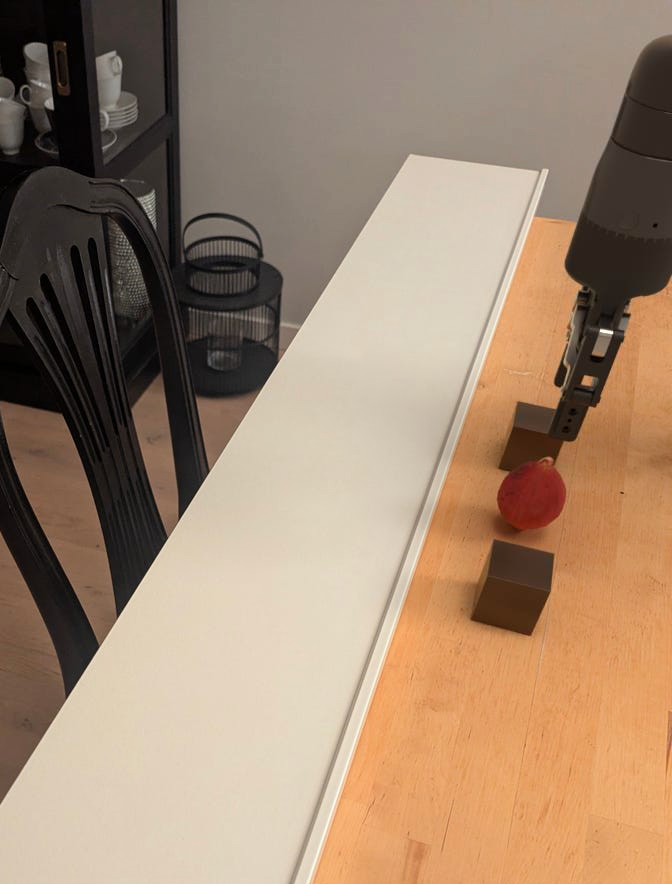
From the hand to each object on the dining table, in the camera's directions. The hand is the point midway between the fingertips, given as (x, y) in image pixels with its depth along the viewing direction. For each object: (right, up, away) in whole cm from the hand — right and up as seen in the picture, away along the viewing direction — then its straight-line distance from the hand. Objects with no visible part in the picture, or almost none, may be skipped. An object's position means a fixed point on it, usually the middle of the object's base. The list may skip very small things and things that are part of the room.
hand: (563, 411), depth 76 cm
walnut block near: (-5, -16, +1) cm, 17 cm away
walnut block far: (+3, -1, +17) cm, 17 cm away
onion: (0, -9, +9) cm, 13 cm away
